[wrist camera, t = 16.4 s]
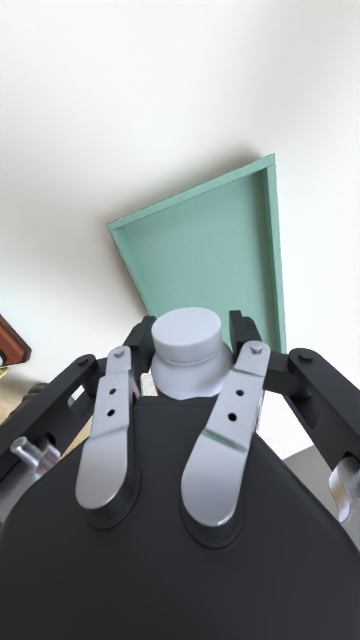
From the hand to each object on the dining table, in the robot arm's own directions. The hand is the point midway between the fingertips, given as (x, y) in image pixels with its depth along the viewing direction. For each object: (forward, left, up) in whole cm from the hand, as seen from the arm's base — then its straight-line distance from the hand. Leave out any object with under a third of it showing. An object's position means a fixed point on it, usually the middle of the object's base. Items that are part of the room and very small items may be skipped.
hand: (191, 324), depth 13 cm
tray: (+1, -2, -8) cm, 9 cm away
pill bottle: (-1, -8, +3) cm, 9 cm away
